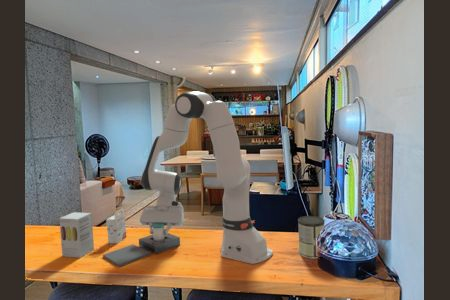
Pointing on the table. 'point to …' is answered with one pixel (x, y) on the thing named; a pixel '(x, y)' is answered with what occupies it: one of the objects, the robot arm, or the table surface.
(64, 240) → the supplement box
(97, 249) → the table surface
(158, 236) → the teal-capped white cylinder
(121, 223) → the ink cartridge box
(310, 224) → the coffee can
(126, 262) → the rubber mat
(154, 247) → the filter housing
